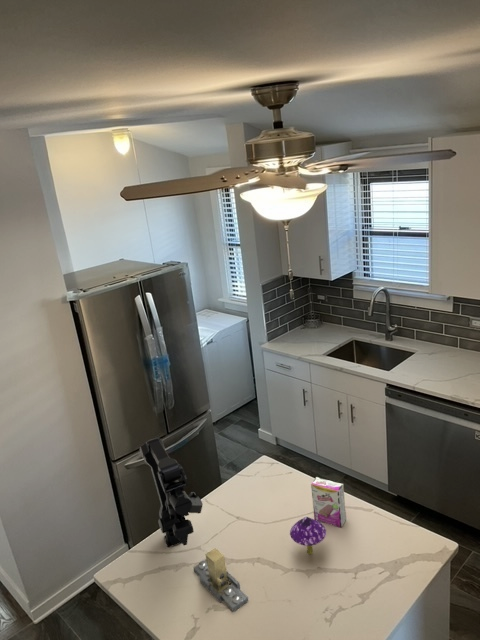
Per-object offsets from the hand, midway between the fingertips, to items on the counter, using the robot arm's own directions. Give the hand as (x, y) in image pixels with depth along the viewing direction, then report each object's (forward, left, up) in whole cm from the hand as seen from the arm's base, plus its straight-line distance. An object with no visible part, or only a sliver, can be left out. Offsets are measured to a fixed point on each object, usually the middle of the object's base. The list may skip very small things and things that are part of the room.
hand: (182, 536), depth 179 cm
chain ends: (+13, +8, -13) cm, 20 cm away
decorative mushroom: (+13, +41, -13) cm, 45 cm away
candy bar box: (+1, +55, -13) cm, 57 cm away
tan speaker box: (+13, +8, -13) cm, 20 cm away
